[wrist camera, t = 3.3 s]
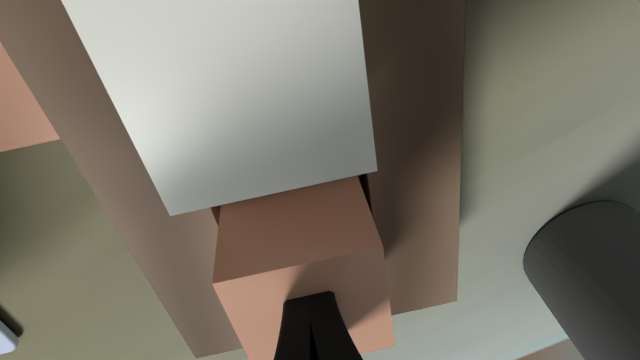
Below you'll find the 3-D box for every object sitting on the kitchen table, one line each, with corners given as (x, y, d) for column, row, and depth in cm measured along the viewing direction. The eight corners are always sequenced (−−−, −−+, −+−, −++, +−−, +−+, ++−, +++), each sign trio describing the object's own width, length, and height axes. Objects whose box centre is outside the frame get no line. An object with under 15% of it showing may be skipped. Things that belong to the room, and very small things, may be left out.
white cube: (193, 127, 12) (169, 216, 9) (126, -44, 9) (55, -10, 6) (344, 95, 12) (377, 171, 9) (317, -84, 9) (349, -73, 6)
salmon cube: (256, 279, 16) (257, 376, 13) (222, 190, 14) (211, 284, 10) (367, 255, 16) (395, 346, 13) (352, 162, 14) (382, 246, 10)
